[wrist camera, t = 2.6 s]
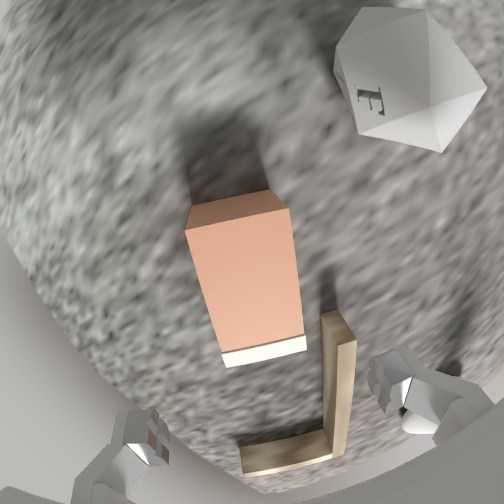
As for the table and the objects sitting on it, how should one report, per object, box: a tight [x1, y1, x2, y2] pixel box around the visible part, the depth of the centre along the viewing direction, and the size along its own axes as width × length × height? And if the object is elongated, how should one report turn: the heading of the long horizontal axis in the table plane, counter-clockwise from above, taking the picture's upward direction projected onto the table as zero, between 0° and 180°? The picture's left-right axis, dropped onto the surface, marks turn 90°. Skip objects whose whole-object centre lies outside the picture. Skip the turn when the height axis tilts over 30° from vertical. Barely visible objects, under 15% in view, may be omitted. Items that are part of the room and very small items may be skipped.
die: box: [333, 7, 487, 153], centre depth 12 cm, size 8×9×10 cm
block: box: [185, 189, 307, 368], centre depth 18 cm, size 5×9×5 cm, turn 10°
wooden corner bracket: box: [239, 310, 357, 478], centre depth 24 cm, size 12×20×4 cm, turn 10°
